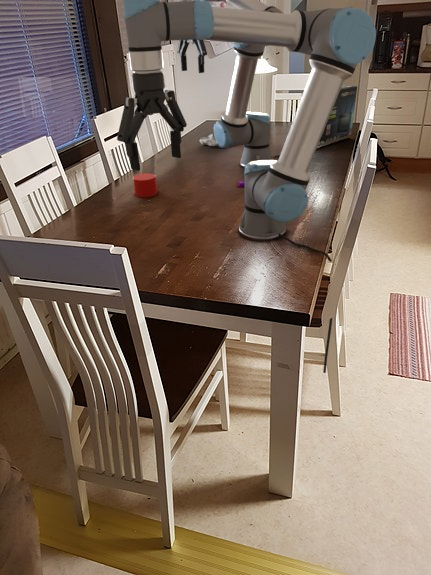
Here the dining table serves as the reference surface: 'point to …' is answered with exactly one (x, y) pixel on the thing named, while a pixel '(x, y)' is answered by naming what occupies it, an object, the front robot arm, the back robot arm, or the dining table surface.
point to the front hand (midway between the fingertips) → (156, 163)
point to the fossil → (209, 141)
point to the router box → (340, 115)
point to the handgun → (241, 183)
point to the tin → (145, 185)
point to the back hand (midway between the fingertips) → (192, 71)
